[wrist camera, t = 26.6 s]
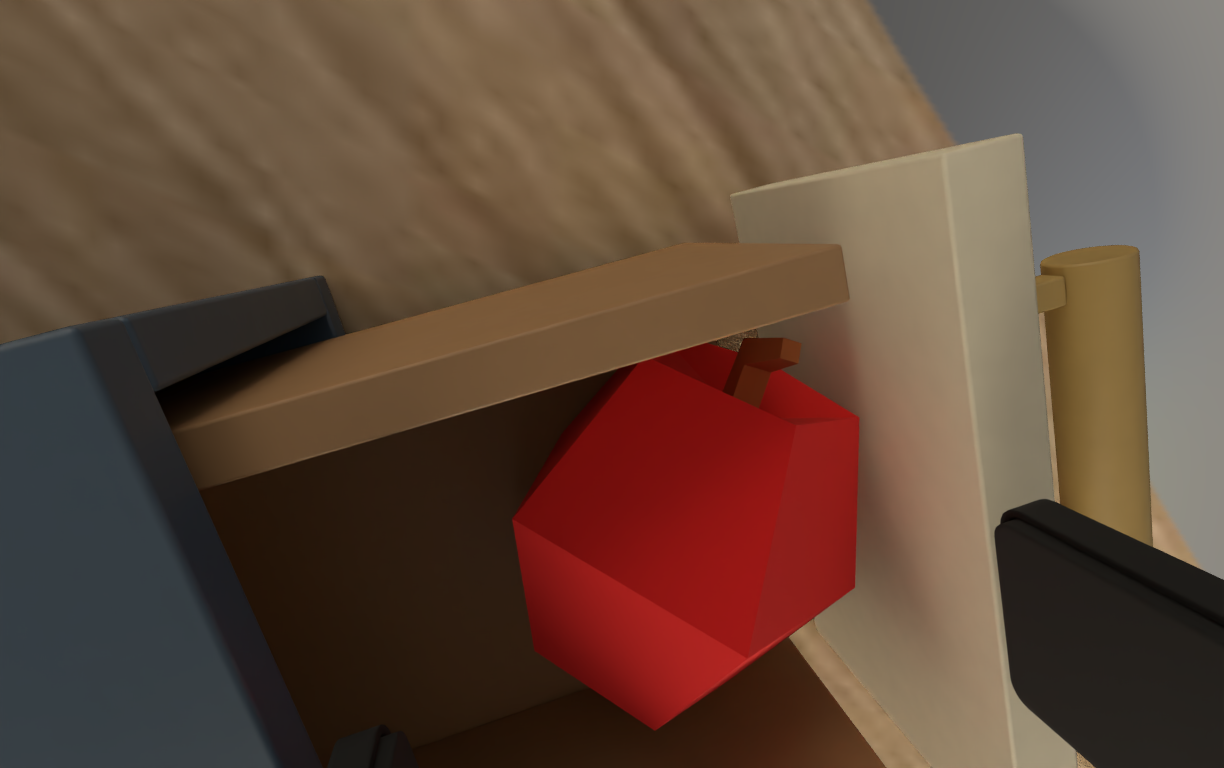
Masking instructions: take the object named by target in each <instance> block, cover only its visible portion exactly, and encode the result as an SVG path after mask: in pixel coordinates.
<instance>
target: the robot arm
mask: <svg viewBox="0 0 1224 768" xmlns="http://www.w3.org/2000/svg"><path fill="white" fill-rule="evenodd" d="M994 538H995V547H996V555H997V564H998V573H999V582H1000V591H1001V600H1002V608H1003V617H1004V626H1005V635H1006V644H1007V653H1008V661H1009V670H1010V679H1011V683H1012V686H1013V688H1014V691H1015V692H1016V694H1017V696H1018V697H1019V699H1020V700H1021V701H1022V703H1023V704H1024V705H1025V706H1026V707H1027V708H1028V709H1029V710H1030V711H1031V712H1032V713H1034V714H1035V715H1036V716H1037V717H1038V718H1039V719H1041V720H1042V721H1043V722H1044V723H1045V724H1046V725H1047V726H1049V727H1050V728H1051V729H1052V730H1053V731H1054V732H1055V733H1057V734H1058V735H1059V736H1060V737H1061V738H1062V739H1063V740H1065V741H1066V742H1067V743H1068V744H1069V745H1070V746H1071V747H1073V748H1074V749H1075V750H1076V751H1077V752H1078V753H1079V754H1081V755H1082V756H1083V757H1084V758H1085V759H1086V760H1088V761H1089V762H1090V763H1091V764H1092V765H1093V766H1094V767H1096V768H1224V580H1223V579H1220V578H1218V577H1216V576H1214V575H1212V574H1210V573H1208V572H1205V571H1203V570H1201V569H1199V568H1197V567H1195V566H1192V565H1190V564H1188V563H1186V562H1184V561H1182V560H1179V559H1177V558H1175V557H1173V556H1171V555H1169V554H1167V553H1164V552H1162V551H1160V550H1158V549H1156V548H1154V547H1151V546H1149V545H1147V544H1145V543H1143V542H1141V541H1139V540H1136V539H1134V538H1132V537H1130V536H1128V535H1126V534H1123V533H1121V532H1119V531H1117V530H1115V529H1113V528H1111V527H1108V526H1106V525H1104V524H1102V523H1100V522H1098V521H1095V520H1093V519H1091V518H1089V517H1087V516H1085V515H1082V514H1080V513H1078V512H1076V511H1074V510H1072V509H1070V508H1067V507H1065V506H1063V505H1061V504H1059V503H1057V502H1054V501H1052V500H1048V499H1039V500H1036V501H1033V502H1030V503H1028V504H1025V505H1022V506H1019V507H1016V508H1013V509H1010V510H1007V511H1006V512H1004V513H1003V514H1002V517H1001V519H1000V524H999V525H998V526H997V527H996V528H995V531H994ZM327 768H419V766H418V763H417V761H416V758H415V756H414V753H413V751H412V748H411V746H410V744H409V741H408V739H407V737H406V735H405V733H404V732H403V731H398V732H395V733H392V734H391V732H390V730H389V729H388V727H387V726H386V725H383V724H381V725H378V726H375V727H372V728H369V729H366V730H363V731H361V732H358V733H355V734H352V735H349V736H346V737H343V738H340V739H339V740H338V741H336V743H335V745H334V748H333V751H332V754H331V757H330V760H329V763H328V767H327Z"/></svg>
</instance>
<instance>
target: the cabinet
mask: <svg viewBox="0 0 1224 768" xmlns="http://www.w3.org/2000/svg"><path fill="white" fill-rule="evenodd" d="M343 335H346V334H345V332H344V329H343V326H342V323H341V321H340V318H339V315H338V312H337V310H336V307H335V304H334V301H333V299H332V296H331V293H330V290H329V288H328V285H327V282H326V279H325V278H324V277H323V276H315V277H310V278H305V279H300V280H295V281H290V282H285V283H280V284H275V285H270V286H265V287H260V288H256V289H251V290H246V291H241V292H236V293H231V294H226V295H221V296H216V297H211V298H206V299H201V300H196V301H191V302H187V303H182V304H177V305H172V306H167V307H162V308H157V309H152V310H147V311H142V312H137V313H132V314H127V315H122V316H118V317H114V318H108V319H103V320H98V321H93V322H88V323H83V324H78V325H73V326H69V327H65V328H61V329H57V330H53V331H49V332H45V333H41V334H38V335H34V336H30V337H26V338H22V339H18V340H14V341H10V342H7V343H3V344H0V768H323V767H322V764H321V762H320V760H319V758H318V755H317V753H316V751H315V749H314V747H313V744H312V742H311V740H310V738H309V735H308V733H307V731H306V729H305V726H304V724H303V722H302V720H301V718H300V715H299V713H298V711H297V709H296V706H295V704H294V702H293V700H292V698H291V695H290V693H289V691H288V689H287V686H286V684H285V682H284V680H283V678H282V675H281V673H280V671H279V669H278V666H277V664H276V662H275V660H274V657H273V655H272V653H271V651H270V649H269V646H268V644H267V642H266V640H265V637H264V635H263V633H262V631H261V629H260V626H259V624H258V622H257V620H256V617H255V615H254V613H253V611H252V609H251V606H250V604H249V602H248V600H247V597H246V595H245V593H244V591H243V588H242V586H241V584H240V582H239V580H238V577H237V575H236V573H235V571H234V568H233V566H232V564H231V562H230V560H229V557H228V555H227V553H226V551H225V548H224V546H223V544H222V542H221V540H220V537H219V535H218V533H217V531H216V528H215V526H214V524H213V522H212V519H211V517H210V515H209V513H208V511H207V508H206V506H205V504H204V502H203V499H202V497H201V495H200V493H199V491H198V488H197V486H196V484H195V482H194V479H193V477H192V475H191V473H190V471H189V468H188V466H187V464H186V462H185V459H184V457H183V455H182V453H181V450H180V448H179V446H178V444H177V442H176V439H175V437H174V435H173V433H172V430H171V428H170V426H169V424H168V422H167V419H166V417H165V415H164V413H163V410H162V408H161V406H160V404H159V402H158V399H157V397H156V395H155V392H157V391H159V390H162V389H164V388H166V387H168V386H170V385H173V384H175V383H177V382H179V381H182V380H184V379H186V378H188V377H192V376H196V375H199V374H203V373H207V372H210V371H214V370H218V369H221V368H225V367H229V366H232V365H236V364H240V363H243V362H247V361H251V360H254V359H258V358H262V357H266V356H269V355H273V354H277V353H280V352H284V351H288V350H291V349H295V348H299V347H302V346H306V345H310V344H313V343H317V342H321V341H324V340H328V339H332V338H335V337H339V336H343Z"/></svg>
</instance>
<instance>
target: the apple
mask: <svg viewBox="0 0 1224 768" xmlns="http://www.w3.org/2000/svg"><path fill="white" fill-rule="evenodd" d="M800 350H801V343H799V342H796V341H793V340H790V339H786V338H744V339H743V342H742V344H741V347H740V349H739V352H735V351H732V350H729V349H725V348H722V347H719V346H715V345H712V344H709V343H704V344H701V345H697V346H694V347H690V348H687V349H684V350H680V351H677V352H673V353H670V354H666V355H663V356H660V357H656V358H653V359H649V360H646V361H642V362H639V363H636V364H632V365H629V366H625V367H622V368H618V369H617V371H616V372H615V373H614V374H613V375H612V376H611V378H610V379H609V380H608V381H607V382H606V383H605V384H604V386H603V387H602V388H601V389H600V390H599V391H598V392H597V394H596V395H595V396H594V397H593V398H592V399H591V401H590V402H589V403H588V404H587V405H586V406H585V407H584V409H583V410H582V411H581V412H580V413H579V414H578V415H577V417H576V418H575V419H574V420H573V421H572V422H571V424H570V425H569V426H568V427H567V428H566V429H565V430H564V432H563V433H562V434H561V436H560V438H559V439H558V441H557V443H556V445H555V446H554V448H553V450H552V451H551V453H550V455H549V457H548V458H547V460H546V462H545V463H544V465H543V467H542V469H541V470H540V472H539V474H538V475H537V477H536V479H535V481H534V482H533V484H532V486H531V487H530V489H529V491H528V493H527V494H526V496H525V498H524V499H523V501H522V503H521V505H520V506H519V508H518V510H517V512H516V513H515V515H514V517H513V518H512V521H513V527H514V533H515V539H516V545H517V551H518V557H519V563H520V569H521V575H522V581H523V586H524V592H525V598H526V604H527V610H528V616H529V622H530V628H531V634H532V640H533V646H534V651H535V652H537V653H539V654H540V655H542V656H543V657H545V658H546V659H548V660H549V661H551V662H552V663H554V664H555V665H557V666H558V667H560V668H561V669H563V670H564V671H566V672H567V673H569V674H570V675H572V676H573V677H575V678H576V679H578V680H579V681H581V682H582V683H584V684H585V685H587V686H588V687H590V688H591V689H593V690H594V691H596V692H597V693H599V694H600V695H602V696H603V697H605V698H606V699H608V700H609V701H611V702H612V703H614V704H615V705H617V706H618V707H620V708H621V709H623V710H624V711H626V712H627V713H629V714H630V715H632V716H633V717H635V718H636V719H638V720H639V721H641V722H642V723H644V724H645V725H647V726H648V727H650V728H651V729H653V730H654V731H655V730H657V729H658V728H660V727H661V726H663V725H664V724H666V723H667V722H669V721H670V720H672V719H673V718H674V717H676V716H677V715H679V714H680V713H682V712H683V711H685V710H686V709H688V708H689V707H691V706H692V705H693V704H695V703H696V702H698V701H699V700H701V699H702V698H704V697H705V696H707V695H708V694H710V693H711V692H713V691H714V690H715V689H717V688H718V687H720V686H721V685H723V684H724V683H726V682H727V681H729V680H730V679H732V678H733V677H734V676H736V675H737V674H738V673H740V672H741V671H742V670H744V669H745V668H746V667H748V666H749V665H751V664H752V663H753V662H755V661H756V660H757V659H759V658H760V657H761V656H763V655H764V654H765V653H767V652H768V651H770V650H771V649H772V648H774V647H775V646H776V645H778V644H779V643H780V642H782V641H783V640H785V639H786V638H787V637H789V636H790V635H791V634H793V633H794V632H795V631H797V630H798V629H799V628H801V627H802V626H804V625H805V624H806V623H808V622H809V621H810V620H812V619H813V618H814V617H816V616H817V615H818V614H820V613H821V612H823V611H824V610H825V609H827V608H828V607H829V606H831V605H832V604H833V603H835V602H836V601H838V600H839V599H840V598H842V597H843V596H844V595H846V594H847V593H848V592H850V591H851V590H852V589H854V588H855V574H856V535H857V496H858V457H859V419H860V417H858V416H856V415H855V414H853V413H851V412H850V411H848V410H846V409H845V408H843V407H842V406H840V405H838V404H837V403H835V402H833V401H832V400H830V399H828V398H827V397H825V396H824V395H822V394H820V393H819V392H817V391H815V390H814V389H812V388H810V387H809V386H807V385H805V384H804V383H802V382H801V381H799V380H797V379H796V378H794V377H792V376H791V375H789V374H787V373H786V372H784V371H783V370H781V369H783V368H786V367H789V366H793V365H796V364H799V357H800Z"/></svg>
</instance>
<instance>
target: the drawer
mask: <svg viewBox="0 0 1224 768" xmlns="http://www.w3.org/2000/svg"><path fill="white" fill-rule="evenodd" d="M730 198H731V203H732V208H733V213H734V218H735V223H736V229H737V234H738V239H739V243H681V244H678V245H674V246H670V247H667V248H663V249H659V250H656V251H652V252H648V253H645V254H641V255H637V256H633V257H630V258H626V259H622V260H619V261H615V262H611V263H608V264H604V265H600V266H597V267H593V268H589V269H586V270H582V271H578V272H575V273H571V274H567V275H564V276H560V277H556V278H553V279H549V280H545V281H541V282H538V283H534V284H530V285H527V286H523V287H519V288H516V289H512V290H508V291H505V292H501V293H497V294H494V295H490V296H486V297H483V298H479V299H475V300H472V301H468V302H464V303H461V304H457V305H453V306H450V307H446V308H442V309H438V310H435V311H431V312H427V313H424V314H420V315H416V316H413V317H409V318H405V319H402V320H398V321H394V322H391V323H387V324H383V325H380V326H376V327H372V328H369V329H365V330H361V331H358V332H354V333H350V334H346V335H343V336H339V337H335V338H332V339H328V340H324V341H321V342H317V343H313V344H310V345H306V346H302V347H299V348H295V349H291V350H288V351H284V352H280V353H277V354H273V355H269V356H266V357H262V358H258V359H254V360H251V361H247V362H243V363H240V364H236V365H232V366H229V367H225V368H221V369H218V370H214V371H210V372H207V373H203V374H199V375H196V376H192V377H188V378H186V379H184V380H182V381H179V382H177V383H175V384H173V385H170V386H168V387H166V388H164V389H162V390H159V391H157V392H155V395H156V397H157V399H158V402H159V404H160V406H161V408H162V410H163V413H164V415H165V417H166V419H167V422H168V424H169V426H170V428H171V430H172V433H173V435H174V437H175V439H176V442H177V444H178V446H179V448H180V450H181V453H182V455H183V457H184V459H185V462H186V464H187V466H188V468H189V471H190V473H191V475H192V477H193V479H194V482H195V484H196V486H197V488H198V491H199V493H200V495H201V497H202V499H203V502H204V504H205V506H206V508H207V511H208V513H209V515H210V517H211V519H212V522H213V524H214V526H215V528H216V531H217V533H218V535H219V537H220V540H221V542H222V544H223V546H224V548H225V551H226V553H227V555H228V557H229V560H230V562H231V564H232V566H233V568H234V571H235V573H236V575H237V577H238V580H239V582H240V584H241V586H242V588H243V591H244V593H245V595H246V597H247V600H248V602H249V604H250V606H251V609H252V611H253V613H254V615H255V617H256V620H257V622H258V624H259V626H260V629H261V631H262V633H263V635H264V637H265V640H266V642H267V644H268V646H269V649H270V651H271V653H272V655H273V657H274V660H275V662H276V664H277V666H278V669H279V671H280V673H281V675H282V678H283V680H284V682H285V684H286V686H287V689H288V691H289V693H290V695H291V698H292V700H293V702H294V704H295V706H296V709H297V711H298V713H299V715H300V718H301V720H302V722H303V724H304V726H305V729H306V731H307V733H308V735H309V738H310V740H311V742H312V744H313V747H314V749H315V751H316V753H317V755H318V758H319V760H320V762H321V764H322V767H323V768H327V767H328V763H329V760H330V757H331V754H332V751H333V748H334V745H335V743H336V741H338V740H339V739H340V738H343V737H346V736H349V735H352V734H355V733H358V732H361V731H363V730H366V729H369V728H372V727H375V726H378V725H381V724H383V725H386V726H387V727H388V729H389V730H390V732H391V734H392V733H395V732H398V731H403V732H404V733H405V735H406V737H407V739H408V741H409V744H410V746H411V748H412V751H413V753H414V756H415V758H416V761H417V763H418V766H419V768H886V767H885V765H884V764H883V763H882V761H881V760H880V759H879V757H878V756H877V755H876V753H875V752H874V751H873V749H872V748H871V747H870V745H869V744H868V743H867V741H866V740H865V739H864V737H863V736H862V735H861V733H860V732H859V731H858V729H857V728H856V727H855V725H854V724H853V723H852V721H851V720H850V719H849V717H848V716H847V715H846V713H845V712H844V711H843V709H842V708H841V707H840V705H839V704H838V703H837V701H836V700H835V699H834V697H833V696H832V695H831V693H830V692H829V691H828V689H827V688H826V687H825V685H824V684H823V683H822V681H821V680H820V679H819V677H818V676H817V675H816V673H815V672H814V671H813V669H812V668H811V667H810V665H809V664H808V663H807V661H806V660H805V659H804V657H803V656H802V655H801V653H800V652H799V650H798V649H797V648H796V646H795V645H794V644H793V642H792V641H791V640H790V638H789V637H787V638H786V639H785V640H783V641H782V642H780V643H779V644H778V645H776V646H775V647H774V648H772V649H771V650H770V651H768V652H767V653H765V654H764V655H763V656H761V657H760V658H759V659H757V660H756V661H755V662H753V663H752V664H751V665H749V666H748V667H746V668H745V669H744V670H742V671H741V672H740V673H738V674H737V675H736V676H734V677H733V678H732V679H730V680H729V681H727V682H726V683H724V684H723V685H721V686H720V687H718V688H717V689H715V690H714V691H713V692H711V693H710V694H708V695H707V696H705V697H704V698H702V699H701V700H699V701H698V702H696V703H695V704H693V705H692V706H691V707H689V708H688V709H686V710H685V711H683V712H682V713H680V714H679V715H677V716H676V717H674V718H673V719H672V720H670V721H669V722H667V723H666V724H664V725H663V726H661V727H660V728H658V729H657V730H655V731H654V730H653V729H651V728H650V727H648V726H647V725H645V724H644V723H642V722H641V721H639V720H638V719H636V718H635V717H633V716H632V715H630V714H629V713H627V712H626V711H624V710H623V709H621V708H620V707H618V706H617V705H615V704H614V703H612V702H611V701H609V700H608V699H606V698H605V697H603V696H602V695H600V694H599V693H597V692H596V691H594V690H593V689H591V688H590V687H588V686H587V685H585V684H584V683H582V682H581V681H579V680H578V679H576V678H575V677H573V676H572V675H570V674H569V673H567V672H566V671H564V670H563V669H561V668H560V667H558V666H557V665H555V664H554V663H552V662H551V661H549V660H548V659H546V658H545V657H543V656H542V655H540V654H539V653H537V652H535V651H534V646H533V640H532V634H531V628H530V622H529V616H528V610H527V604H526V598H525V592H524V586H523V581H522V575H521V569H520V563H519V557H518V551H517V545H516V539H515V533H514V527H513V521H512V518H513V517H514V515H515V513H516V512H517V510H518V508H519V506H520V505H521V503H522V501H523V499H524V498H525V496H526V494H527V493H528V491H529V489H530V487H531V486H532V484H533V482H534V481H535V479H536V477H537V475H538V474H539V472H540V470H541V469H542V467H543V465H544V463H545V462H546V460H547V458H548V457H549V455H550V453H551V451H552V450H553V448H554V446H555V445H556V443H557V441H558V439H559V438H560V436H561V434H562V433H563V432H564V430H565V429H566V428H567V427H568V426H569V425H570V424H571V422H572V421H573V420H574V419H575V418H576V417H577V415H578V414H579V413H580V412H581V411H582V410H583V409H584V407H585V406H586V405H587V404H588V403H589V402H590V401H591V399H592V398H593V397H594V396H595V395H596V394H597V392H598V391H599V390H600V389H601V388H602V387H603V386H604V384H605V383H606V382H607V381H608V380H609V379H610V378H611V376H612V375H613V374H614V373H615V372H616V371H617V369H618V368H622V367H625V366H629V365H632V364H636V363H639V362H642V361H646V360H649V359H653V358H656V357H660V356H663V355H666V354H670V353H673V352H677V351H680V350H684V349H687V348H690V347H694V346H697V345H701V344H704V343H709V344H712V345H715V346H717V341H716V340H718V339H721V338H725V337H728V336H732V335H735V334H739V333H742V332H745V331H749V330H752V329H757V334H758V338H786V339H790V340H793V341H796V342H799V343H801V350H800V357H799V364H796V365H793V366H789V367H786V368H783V369H781V370H783V371H784V372H786V373H787V374H789V375H791V376H792V377H794V378H796V379H797V380H799V381H801V382H802V383H804V384H805V385H807V386H809V387H810V388H812V389H814V390H815V391H817V392H819V393H820V394H822V395H824V396H825V397H827V398H828V399H830V400H832V401H833V402H835V403H837V404H838V405H840V406H842V407H843V408H845V409H846V410H848V411H850V412H851V413H853V414H855V415H856V416H858V417H860V419H859V457H858V496H857V535H856V574H855V588H854V589H852V590H851V591H850V592H848V593H847V594H846V595H844V596H843V597H842V598H840V599H839V600H838V601H836V602H835V603H833V604H832V605H831V606H829V607H828V608H827V609H825V610H824V611H823V612H821V613H820V614H818V615H817V616H816V617H814V620H815V625H816V630H817V631H818V632H819V633H820V635H821V636H822V637H823V638H824V639H825V641H826V642H827V643H828V644H829V645H830V647H831V648H832V649H833V650H834V651H835V653H836V654H837V655H838V656H839V657H840V659H841V660H842V661H843V662H844V663H845V665H846V666H847V667H848V668H849V669H850V670H851V672H852V673H853V674H854V675H855V676H856V678H857V679H858V680H859V681H860V682H861V684H862V685H863V686H864V687H865V688H866V690H867V691H868V692H869V693H870V694H871V696H872V697H873V698H874V699H875V700H876V702H877V703H878V704H879V705H880V706H881V708H882V709H883V710H884V711H885V712H886V714H887V715H888V716H889V717H890V718H891V720H892V721H893V722H894V723H895V724H896V726H897V727H898V728H899V729H900V730H901V732H902V733H903V734H904V735H905V736H906V738H907V739H908V740H909V741H910V742H911V744H912V745H913V746H914V747H915V748H916V750H917V751H918V752H919V753H920V754H921V756H922V757H923V758H924V759H925V760H926V762H927V763H928V764H929V765H930V766H931V768H1078V766H1077V754H1076V750H1075V749H1074V748H1073V747H1071V746H1070V745H1069V744H1068V743H1067V742H1066V741H1065V740H1063V739H1062V738H1061V737H1060V736H1059V735H1058V734H1057V733H1055V732H1054V731H1053V730H1052V729H1051V728H1050V727H1049V726H1047V725H1046V724H1045V723H1044V722H1043V721H1042V720H1041V719H1039V718H1038V717H1037V716H1036V715H1035V714H1034V713H1032V712H1031V711H1030V710H1029V709H1028V708H1027V707H1026V706H1025V705H1024V704H1023V703H1022V701H1021V700H1020V699H1019V697H1018V696H1017V694H1016V692H1015V691H1014V688H1013V686H1012V683H1011V679H1010V670H1009V661H1008V653H1007V644H1006V635H1005V626H1004V617H1003V608H1002V600H1001V591H1000V582H999V573H998V564H997V555H996V547H995V538H994V531H995V528H996V527H997V526H998V525H999V524H1000V519H1001V517H1002V514H1003V513H1004V512H1006V511H1007V510H1010V509H1013V508H1016V507H1019V506H1022V505H1025V504H1028V503H1030V502H1033V501H1036V500H1039V499H1048V500H1052V501H1054V502H1055V500H1054V489H1053V477H1052V466H1051V454H1050V443H1049V431H1048V420H1047V408H1046V396H1045V385H1044V373H1043V362H1042V350H1041V339H1040V327H1039V316H1038V314H1039V313H1042V312H1044V316H1045V327H1046V339H1047V351H1048V363H1049V375H1050V387H1051V399H1052V410H1053V422H1054V434H1055V446H1056V458H1057V470H1058V482H1059V493H1060V504H1061V505H1063V506H1065V507H1067V508H1070V509H1072V510H1074V511H1076V512H1078V513H1080V514H1082V515H1085V516H1087V517H1089V518H1091V519H1093V520H1095V521H1098V522H1100V523H1102V524H1104V525H1106V526H1108V527H1111V528H1113V529H1115V530H1117V531H1119V532H1121V533H1123V534H1126V535H1128V536H1130V537H1132V538H1134V539H1136V540H1139V541H1141V542H1143V543H1145V544H1147V545H1149V546H1151V547H1153V539H1152V518H1151V496H1150V474H1149V452H1148V431H1147V409H1146V386H1145V367H1144V365H1145V364H1144V343H1143V322H1142V300H1141V277H1140V257H1139V256H1140V255H1139V250H1138V248H1136V247H1133V246H1126V245H1111V246H1097V247H1089V248H1082V249H1076V250H1071V251H1067V252H1062V253H1059V254H1055V255H1052V256H1050V257H1048V258H1046V259H1044V260H1042V261H1041V264H1040V268H1041V275H1039V276H1036V277H1035V270H1034V258H1033V247H1032V235H1031V223H1030V212H1029V201H1028V189H1027V177H1026V167H1025V154H1024V143H1023V136H1022V135H1021V134H1017V133H1016V134H1011V135H1006V136H1002V137H997V138H992V139H987V140H982V141H977V142H973V143H968V144H962V145H957V146H953V147H948V148H943V149H938V150H933V151H928V152H923V153H918V154H913V155H908V156H904V157H899V158H894V159H889V160H884V161H879V162H874V163H869V164H864V165H859V166H855V167H850V168H845V169H840V170H835V171H830V172H825V173H820V174H815V175H810V176H806V177H801V178H796V179H791V180H786V181H781V182H776V183H772V184H768V185H764V186H760V187H757V188H753V189H749V190H745V191H742V192H738V193H734V194H732V195H731V196H730Z"/></svg>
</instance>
